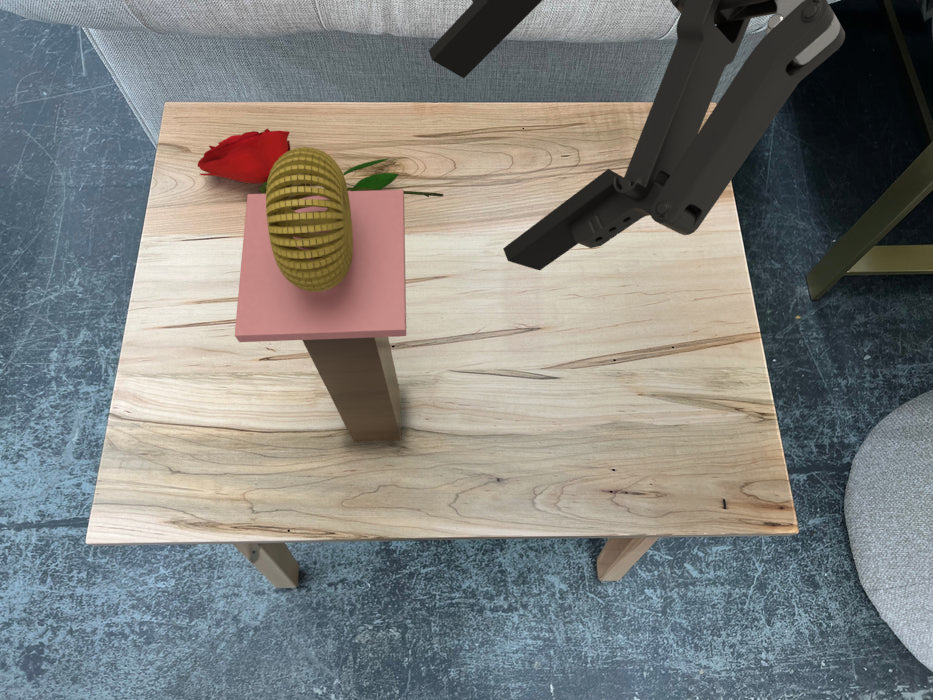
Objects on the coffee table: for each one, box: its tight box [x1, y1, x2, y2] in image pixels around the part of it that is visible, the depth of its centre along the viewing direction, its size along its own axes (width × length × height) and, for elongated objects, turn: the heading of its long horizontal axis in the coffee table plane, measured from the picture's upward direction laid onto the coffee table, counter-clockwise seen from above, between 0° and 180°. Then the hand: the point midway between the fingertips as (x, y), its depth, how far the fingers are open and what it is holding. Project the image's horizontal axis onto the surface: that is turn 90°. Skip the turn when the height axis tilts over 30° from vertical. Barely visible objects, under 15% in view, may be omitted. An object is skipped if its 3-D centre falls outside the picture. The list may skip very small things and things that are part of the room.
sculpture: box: [265, 146, 353, 292], centre depth 39 cm, size 8×4×8 cm, turn 5°
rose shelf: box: [234, 189, 407, 343], centre depth 43 cm, size 10×10×1 cm
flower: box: [197, 128, 444, 198], centre depth 80 cm, size 9×10×30 cm
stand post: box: [301, 337, 402, 443], centre depth 58 cm, size 5×5×32 cm
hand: (481, 156), depth 37 cm, fingers open, 13 cm apart
